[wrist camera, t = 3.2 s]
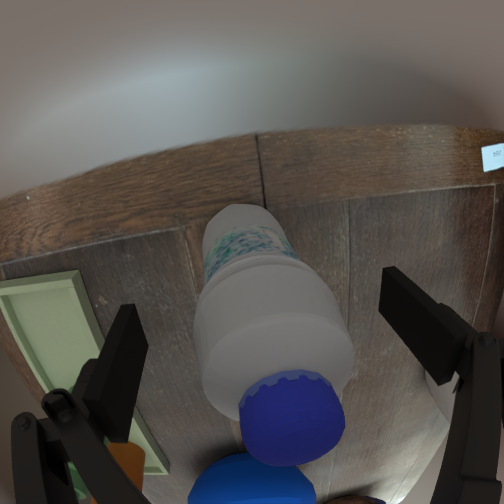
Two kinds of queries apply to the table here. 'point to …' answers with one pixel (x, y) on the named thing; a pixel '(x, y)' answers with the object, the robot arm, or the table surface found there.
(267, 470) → the vase
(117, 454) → the amber bottle
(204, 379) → the bottle
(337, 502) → the bowl
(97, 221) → the table surface
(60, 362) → the tray
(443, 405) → the mug
